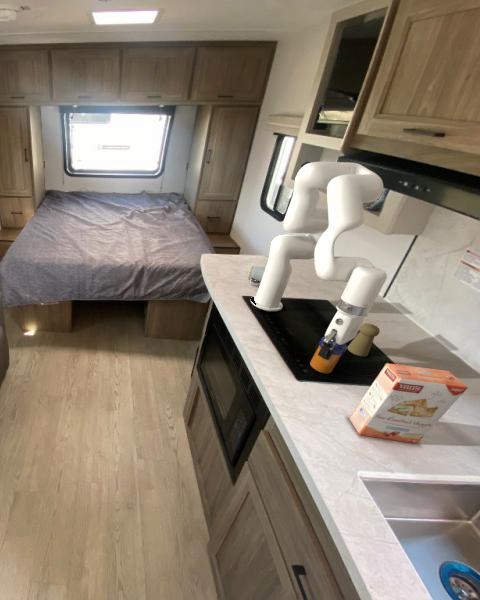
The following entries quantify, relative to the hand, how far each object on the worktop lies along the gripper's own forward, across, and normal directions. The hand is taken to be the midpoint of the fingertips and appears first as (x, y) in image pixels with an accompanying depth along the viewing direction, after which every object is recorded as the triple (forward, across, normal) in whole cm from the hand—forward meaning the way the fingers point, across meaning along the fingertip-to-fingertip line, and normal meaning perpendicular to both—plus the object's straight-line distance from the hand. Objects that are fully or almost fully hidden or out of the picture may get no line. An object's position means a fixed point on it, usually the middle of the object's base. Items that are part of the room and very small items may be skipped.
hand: (329, 353), depth 106 cm
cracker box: (+7, -12, -22) cm, 26 cm away
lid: (-4, 0, 0) cm, 4 cm away
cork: (+6, +21, -1) cm, 22 cm away
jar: (+6, 0, +1) cm, 6 cm away
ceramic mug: (+5, +37, +51) cm, 63 cm away
